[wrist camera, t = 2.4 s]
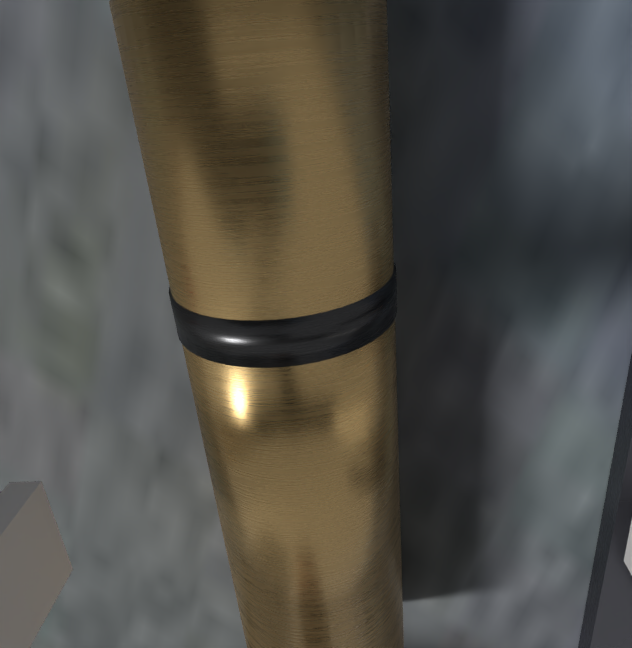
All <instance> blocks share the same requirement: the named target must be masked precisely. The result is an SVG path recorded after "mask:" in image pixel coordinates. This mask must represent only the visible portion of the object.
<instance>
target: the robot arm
mask: <svg viewBox="0 0 632 648" xmlns="http://www.w3.org/2000/svg"><path fill="white" fill-rule="evenodd" d="M624 562H625V564H626V566H627V568H628V570H629V571H630V573H631V575H632V521H631V526H630V531H629V536H628V541H627V546H626V551H625V556H624ZM72 570H73V568H72V565H71V562H70V560H69V557H68V554H67V551H66V548H65V546H64V543H63V540H62V537H61V535H60V532H59V529H58V526H57V523H56V521H55V518H54V515H53V512H52V509H51V507H50V504H49V501H48V498H47V496H46V493H45V490H44V487H43V484H42V482H41V481H34V482H9V483H8V485H7V486H6V487H5V488H4V490H3V491H2V492H1V493H0V648H30V646H31V644H32V642H33V640H34V639H35V637H36V635H37V633H38V631H39V630H40V628H41V626H42V624H43V622H44V621H45V619H46V617H47V615H48V613H49V612H50V610H51V608H52V606H53V604H54V603H55V601H56V599H57V597H58V595H59V594H60V592H61V590H62V588H63V586H64V585H65V583H66V581H67V579H68V577H69V576H70V574H71V572H72Z"/></svg>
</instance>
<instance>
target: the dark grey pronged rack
mask: <svg viewBox="0 0 632 648" xmlns="http://www.w3.org/2000/svg"><path fill="white" fill-rule="evenodd" d="M631 521H632V355H631V361H630V366H629V372H628V377H627V383H626V388H625V394H624V399H623V405H622V410H621V416H620V421H619V427H618V432H617V438H616V443H615V448H614V454H613V459H612V465H611V470H610V476H609V481H608V487H607V492H606V498H605V503H604V509H603V514H602V520H601V525H600V531H599V536H598V542H597V547H596V553H595V558H594V564H593V569H592V575H591V580H590V586H589V591H588V597H587V602H586V608H585V613H584V619H583V624H582V630H581V635H580V641H579V646H578V648H632V575H631V573H630V571H629V570H628V568H627V566H626V564H625V562H624V556H625V551H626V546H627V541H628V536H629V531H630V526H631Z"/></svg>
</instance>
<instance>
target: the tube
mask: <svg viewBox="0 0 632 648" xmlns="http://www.w3.org/2000/svg"><path fill="white" fill-rule="evenodd" d="M109 4H110V9H111V14H112V18H113V23H114V28H115V32H116V37H117V42H118V46H119V51H120V56H121V60H122V65H123V70H124V74H125V79H126V84H127V88H128V93H129V98H130V102H131V107H132V112H133V116H134V121H135V126H136V130H137V135H138V140H139V144H140V149H141V154H142V158H143V163H144V168H145V172H146V177H147V182H148V186H149V191H150V196H151V200H152V205H153V210H154V214H155V219H156V224H157V228H158V233H159V238H160V242H161V247H162V252H163V256H164V261H165V266H166V270H167V275H168V280H169V284H170V287H169V296H170V300H171V305H172V309H173V314H174V319H175V323H176V328H177V333H178V336H179V340H180V341H181V343H182V345H183V350H184V354H185V359H186V364H187V368H188V373H189V378H190V382H191V387H192V392H193V396H194V401H195V406H196V410H197V415H198V420H199V424H200V429H201V434H202V438H203V443H204V448H205V452H206V457H207V462H208V466H209V471H210V476H211V480H212V485H213V490H214V494H215V499H216V504H217V508H218V513H219V518H220V522H221V527H222V532H223V536H224V541H225V546H226V550H227V555H228V560H229V564H230V569H231V574H232V578H233V583H234V588H235V592H236V597H237V602H238V606H239V611H240V616H241V620H242V625H243V630H244V634H245V639H246V644H247V648H404V641H403V603H402V565H401V527H400V489H399V451H398V413H397V376H396V338H395V317H396V313H397V290H396V266H395V263H394V261H393V224H392V186H391V148H390V111H389V73H388V35H387V0H110V1H109Z"/></svg>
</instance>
